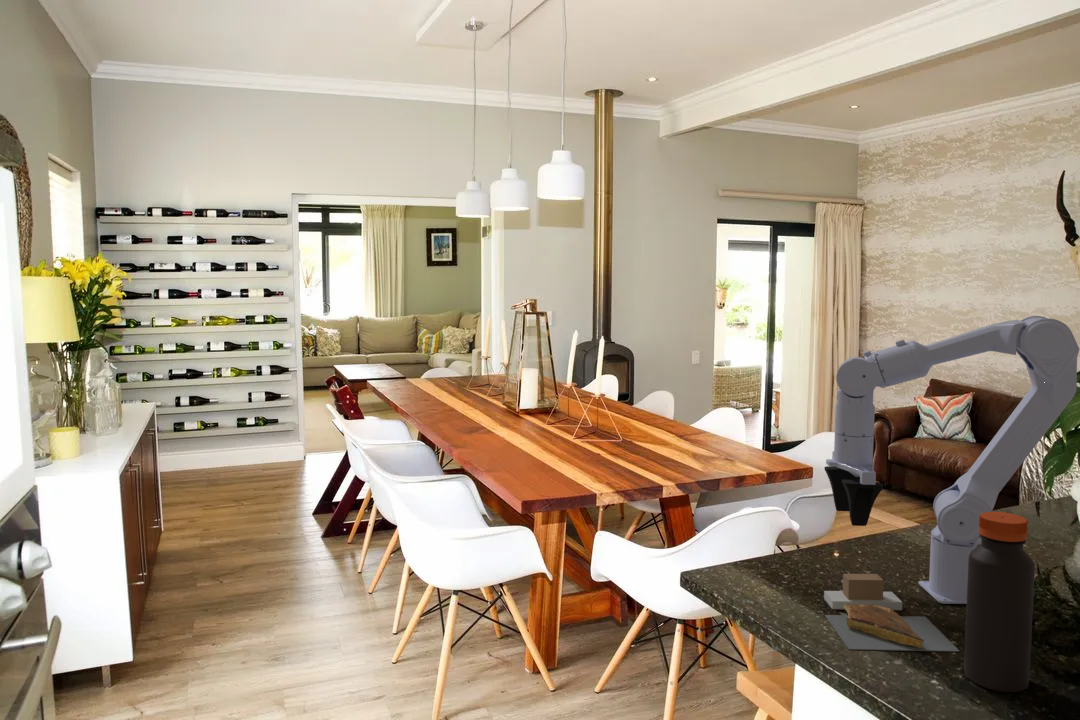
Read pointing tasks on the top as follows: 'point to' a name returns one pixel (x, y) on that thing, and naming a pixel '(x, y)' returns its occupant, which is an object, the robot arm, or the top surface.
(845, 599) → the grout float
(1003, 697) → the top surface
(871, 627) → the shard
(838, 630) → the felt mat
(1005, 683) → the bottle
